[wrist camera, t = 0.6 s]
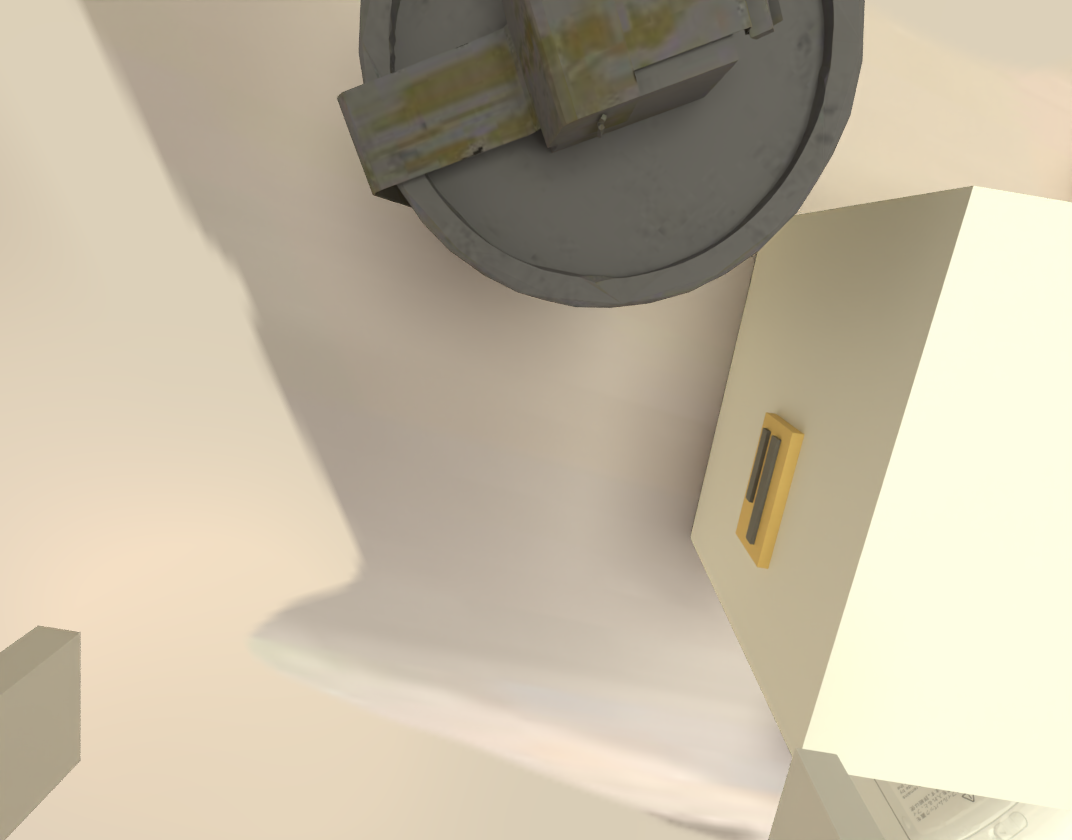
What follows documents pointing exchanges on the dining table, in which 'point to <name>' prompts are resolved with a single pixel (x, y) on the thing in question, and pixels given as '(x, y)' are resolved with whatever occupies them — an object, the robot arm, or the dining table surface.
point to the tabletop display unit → (906, 490)
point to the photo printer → (956, 814)
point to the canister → (602, 132)
